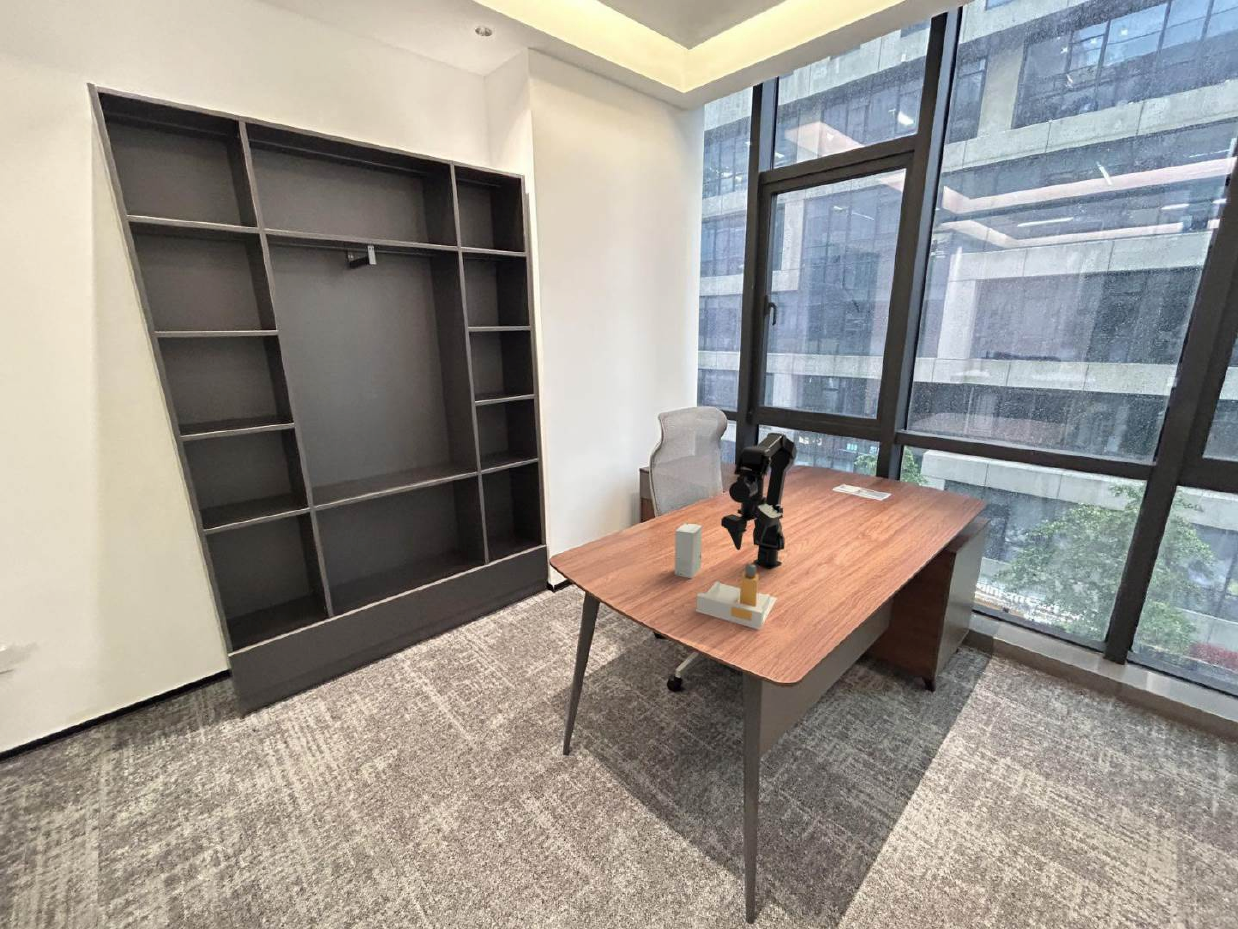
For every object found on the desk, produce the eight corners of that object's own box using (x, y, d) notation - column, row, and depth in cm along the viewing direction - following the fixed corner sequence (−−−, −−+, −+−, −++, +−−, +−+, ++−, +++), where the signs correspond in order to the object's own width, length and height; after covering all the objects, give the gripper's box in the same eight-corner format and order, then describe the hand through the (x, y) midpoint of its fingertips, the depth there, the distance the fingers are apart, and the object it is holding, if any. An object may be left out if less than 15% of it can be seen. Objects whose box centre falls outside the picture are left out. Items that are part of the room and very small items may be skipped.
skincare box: (691, 580, 150) (693, 534, 146) (673, 575, 153) (674, 530, 149) (701, 569, 157) (703, 524, 153) (683, 565, 160) (684, 521, 156)
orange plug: (740, 605, 134) (743, 561, 131) (756, 608, 133) (759, 563, 130) (738, 613, 130) (741, 567, 127) (754, 616, 129) (758, 570, 126)
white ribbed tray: (718, 584, 147) (719, 570, 146) (777, 599, 138) (778, 584, 137) (695, 612, 132) (695, 597, 131) (759, 631, 123) (760, 615, 122)
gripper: (754, 507, 127) (750, 564, 131) (797, 494, 138) (792, 546, 142) (721, 496, 136) (718, 550, 139) (764, 485, 146) (760, 534, 150)
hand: (748, 545), depth 142 cm, fingers open, 9 cm apart
